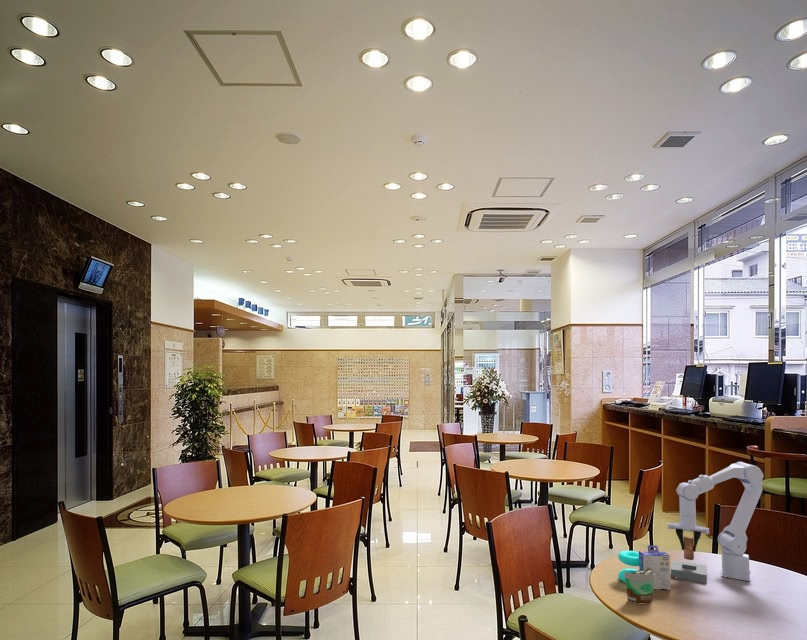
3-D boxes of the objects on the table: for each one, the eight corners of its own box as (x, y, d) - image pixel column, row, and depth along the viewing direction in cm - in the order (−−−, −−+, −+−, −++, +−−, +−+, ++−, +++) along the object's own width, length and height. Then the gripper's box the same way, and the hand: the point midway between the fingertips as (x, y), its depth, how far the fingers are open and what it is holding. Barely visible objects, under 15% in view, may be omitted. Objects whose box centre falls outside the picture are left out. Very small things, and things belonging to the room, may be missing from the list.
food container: (639, 608, 190) (638, 577, 191) (624, 601, 196) (624, 571, 196) (664, 601, 196) (663, 571, 197) (649, 595, 201) (648, 566, 202)
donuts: (652, 557, 212) (629, 559, 209) (652, 584, 211) (629, 587, 208) (634, 548, 221) (612, 550, 219) (635, 575, 221) (613, 577, 218)
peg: (693, 557, 223) (693, 537, 223) (694, 560, 219) (693, 539, 220) (683, 556, 224) (683, 535, 225) (683, 559, 221) (683, 538, 222)
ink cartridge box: (665, 584, 211) (664, 544, 212) (671, 590, 206) (670, 549, 207) (638, 583, 212) (637, 544, 213) (644, 589, 206) (643, 548, 207)
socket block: (706, 573, 224) (706, 565, 224) (706, 583, 213) (706, 575, 213) (673, 567, 229) (673, 560, 230) (671, 577, 219) (671, 569, 219)
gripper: (666, 514, 223) (667, 549, 222) (708, 519, 216) (709, 556, 215) (668, 510, 229) (668, 544, 228) (708, 515, 222) (709, 550, 221)
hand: (688, 550), depth 222 cm, fingers closed on peg, 3 cm apart
